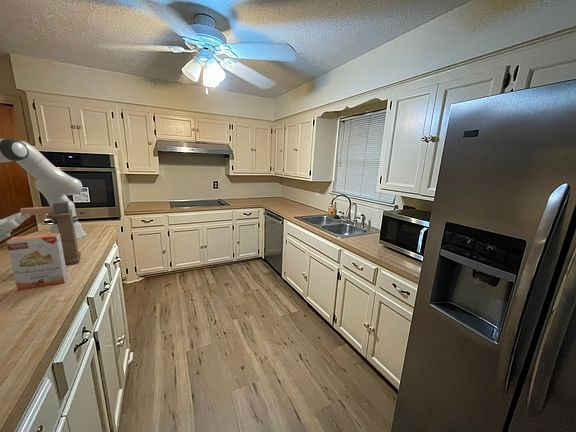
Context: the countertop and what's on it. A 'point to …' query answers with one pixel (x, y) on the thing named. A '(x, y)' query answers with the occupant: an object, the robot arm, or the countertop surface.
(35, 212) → the terracotta bar
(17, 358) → the countertop surface
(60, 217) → the walnut stand
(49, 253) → the cracker box
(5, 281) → the countertop surface
